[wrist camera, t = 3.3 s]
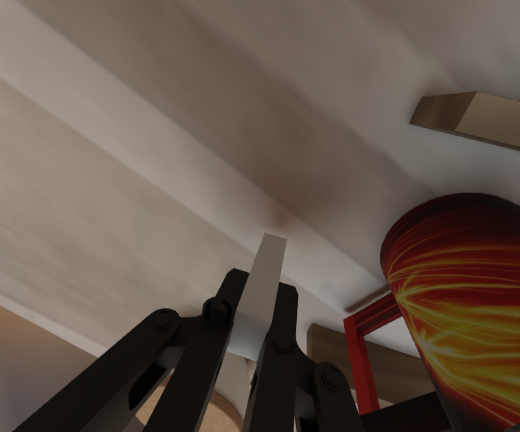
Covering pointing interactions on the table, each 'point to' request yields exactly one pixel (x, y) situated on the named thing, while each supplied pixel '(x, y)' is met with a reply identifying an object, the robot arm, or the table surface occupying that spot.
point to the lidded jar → (216, 397)
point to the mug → (449, 316)
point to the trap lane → (453, 122)
